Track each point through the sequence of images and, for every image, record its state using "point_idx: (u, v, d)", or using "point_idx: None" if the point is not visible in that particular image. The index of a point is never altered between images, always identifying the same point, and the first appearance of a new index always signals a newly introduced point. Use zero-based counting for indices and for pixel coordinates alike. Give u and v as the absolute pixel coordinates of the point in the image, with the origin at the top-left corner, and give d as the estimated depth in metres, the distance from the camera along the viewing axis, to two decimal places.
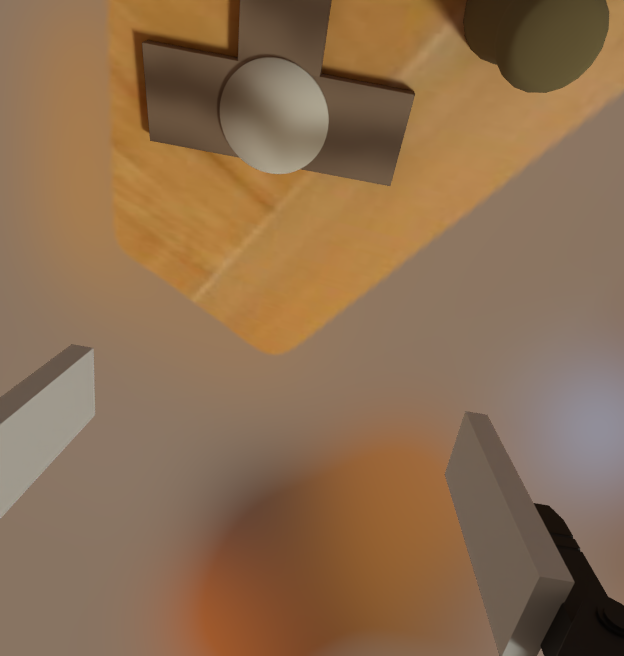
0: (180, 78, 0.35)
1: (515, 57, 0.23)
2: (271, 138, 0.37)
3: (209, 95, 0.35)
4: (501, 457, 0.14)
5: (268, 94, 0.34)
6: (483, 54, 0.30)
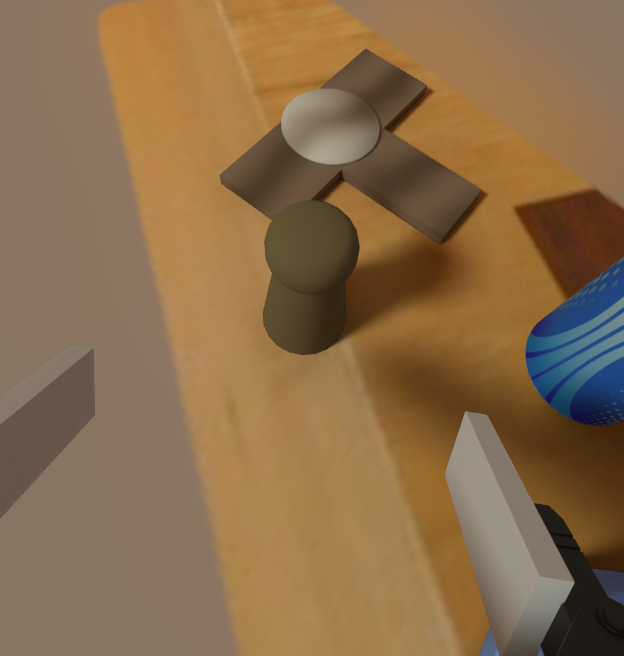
0: (393, 90, 0.42)
1: (318, 202, 0.25)
2: (318, 115, 0.40)
3: (372, 99, 0.41)
4: (501, 457, 0.14)
5: (350, 131, 0.40)
6: None
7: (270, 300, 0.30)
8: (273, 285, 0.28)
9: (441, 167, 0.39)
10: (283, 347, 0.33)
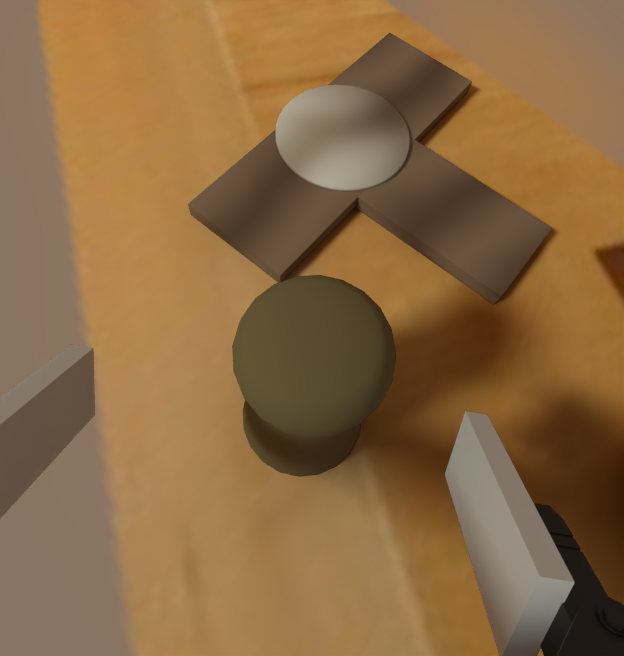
0: (427, 88, 0.31)
1: (326, 281, 0.14)
2: (326, 122, 0.29)
3: (398, 100, 0.31)
4: (501, 457, 0.14)
5: (370, 143, 0.29)
6: None
7: (249, 411, 0.19)
8: None
9: (495, 195, 0.28)
10: (271, 465, 0.22)
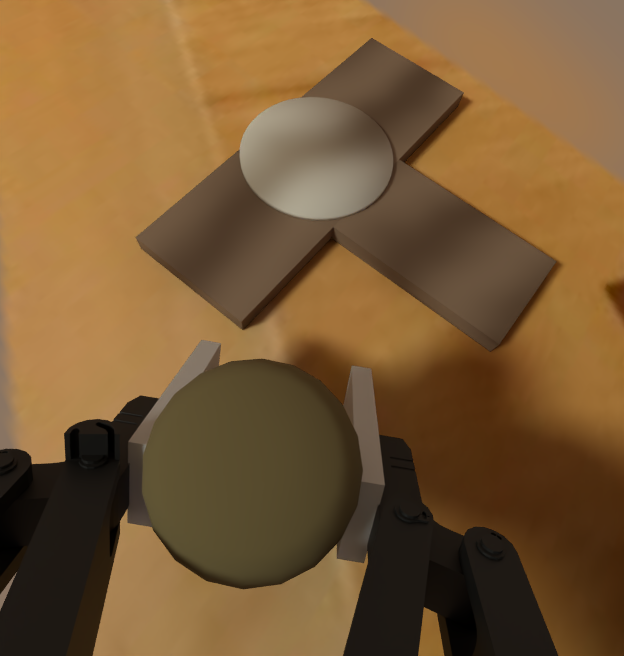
0: (413, 100, 0.28)
1: (267, 373, 0.11)
2: (298, 139, 0.26)
3: (381, 114, 0.27)
4: (367, 399, 0.16)
5: (348, 164, 0.25)
6: None
7: None
8: None
9: (491, 223, 0.25)
10: None
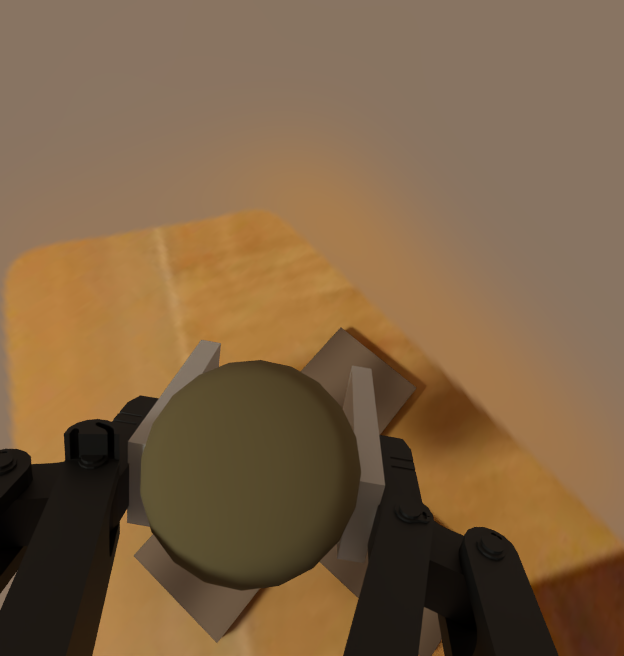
0: None
1: (265, 375, 0.11)
2: None
3: None
4: (367, 399, 0.16)
5: None
6: None
7: None
8: None
9: None
10: None
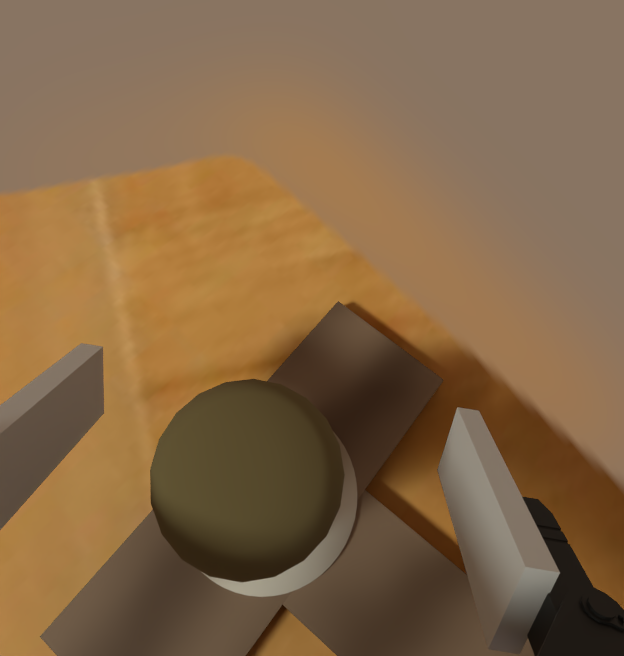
0: (384, 395, 0.24)
1: (257, 393, 0.12)
2: None
3: (346, 419, 0.23)
4: (491, 452, 0.14)
5: None
6: None
7: None
8: None
9: None
10: None
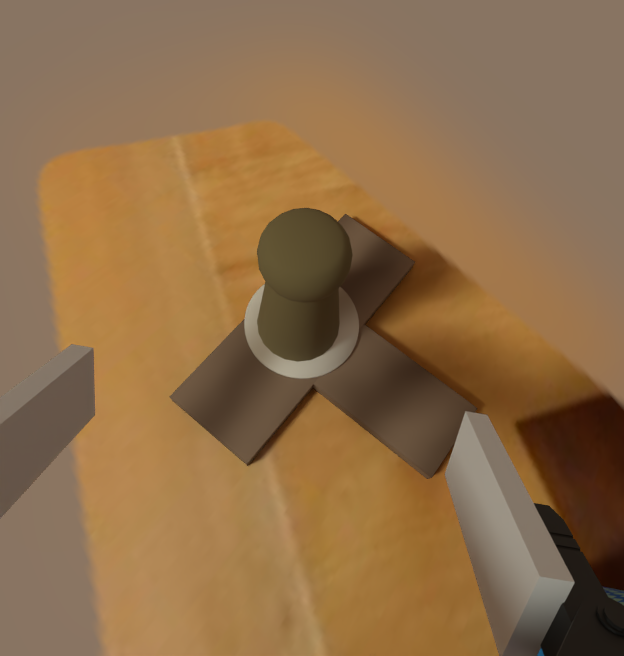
0: (376, 270, 0.37)
1: (309, 210, 0.25)
2: None
3: (351, 284, 0.36)
4: (501, 457, 0.14)
5: None
6: None
7: (264, 308, 0.30)
8: (267, 293, 0.28)
9: (430, 377, 0.33)
10: (278, 354, 0.33)
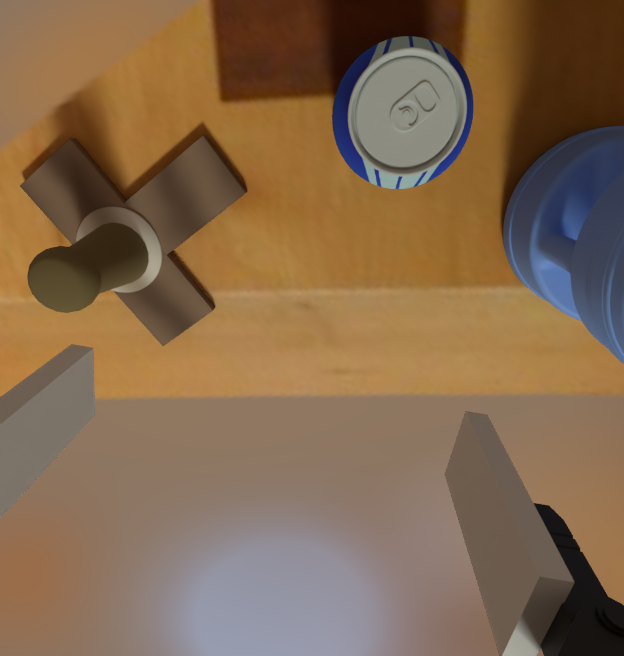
0: (76, 177, 0.43)
1: (30, 275, 0.35)
2: None
3: (88, 202, 0.44)
4: (501, 457, 0.14)
5: None
6: None
7: None
8: None
9: (173, 164, 0.42)
10: (141, 274, 0.46)
